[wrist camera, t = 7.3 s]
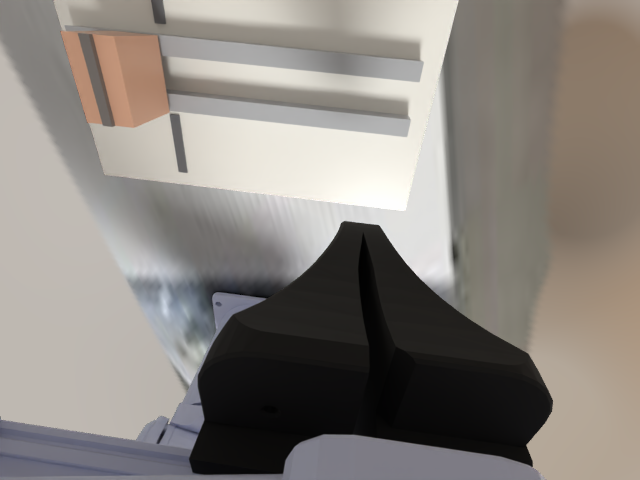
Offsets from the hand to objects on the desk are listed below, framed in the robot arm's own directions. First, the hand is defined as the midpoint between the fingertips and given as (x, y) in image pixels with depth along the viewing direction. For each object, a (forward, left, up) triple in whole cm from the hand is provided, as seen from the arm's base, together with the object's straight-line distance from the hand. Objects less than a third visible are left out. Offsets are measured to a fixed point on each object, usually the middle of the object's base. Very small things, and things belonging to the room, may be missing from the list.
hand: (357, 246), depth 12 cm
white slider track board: (+4, +6, -9) cm, 12 cm away
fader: (+4, +11, -7) cm, 13 cm away
